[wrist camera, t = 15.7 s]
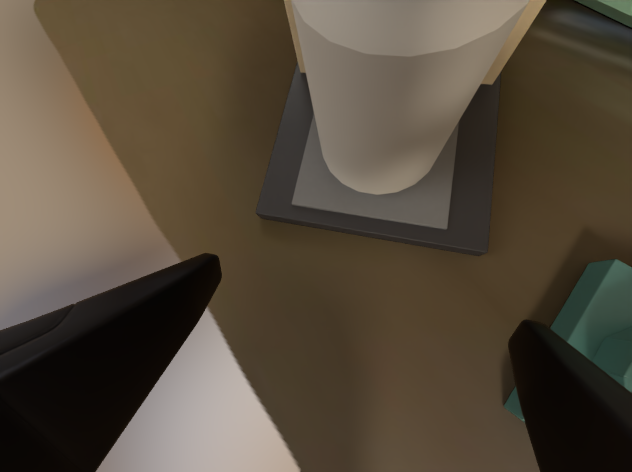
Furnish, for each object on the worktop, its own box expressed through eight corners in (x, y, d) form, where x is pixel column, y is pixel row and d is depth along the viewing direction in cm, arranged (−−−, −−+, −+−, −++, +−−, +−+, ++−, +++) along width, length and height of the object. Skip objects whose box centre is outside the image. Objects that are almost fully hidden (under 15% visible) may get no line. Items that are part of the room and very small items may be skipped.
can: (362, 221, 17) (385, 41, 5) (303, 139, 19) (224, -122, 7) (460, 159, 17) (696, -154, 5) (390, 84, 19) (450, -258, 7)
